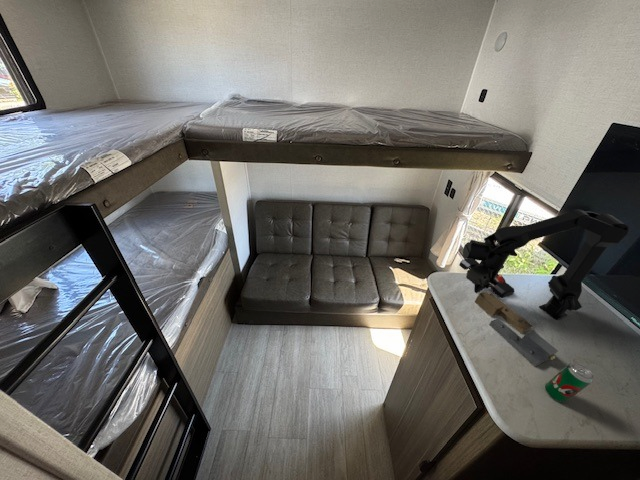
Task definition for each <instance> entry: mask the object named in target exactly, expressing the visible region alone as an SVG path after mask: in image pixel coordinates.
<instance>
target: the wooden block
mask: <svg viewBox="0 0 640 480" xmlns="http://www.w3.org/2000/svg"><path fill="white" fill-rule="evenodd" d="M474 303H476V305H477V306H479V307H480V308H481V309H482V310H483V311H484V312H485V313H487V315H489V316H490V317H492V318H493V317H496V316H498V315H499V316H500V317H501V318H502V319H503V320H504V321H506V322H507V323H508V324H510V325H511V326H512V327H513V328H514V329H515V330H516V331H517V332H519V333H520V334H523V333H525V332H526V333H527V331H530V330H531V329H532V328H533V325H532V324H531V323H530V322H528V321H527V320H526V319H525V318H523V316H521V315H520V314H518V313H517V312H516V311H515V310H514V309H512V308H511V307H509V305H507V304H506V303H505V302H503V301H502V300H501V298H500V299H499V297H498V296H497V295H496V294H494V293H493V292H491V293H489V292H487V291H484V292H479V293H478V295H477V297H476V298H475V300H474Z"/></svg>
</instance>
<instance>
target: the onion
mask: <svg viewBox="0 0 640 480" xmlns="http://www.w3.org/2000/svg"><path fill="white" fill-rule="evenodd" d="M498 275H499V276H498V277H496V279H497V280H499V281H498V282H499V283H503V282H506V283H507V281H506V279H505V278H504V277H503V275H502V274H501V273H500V274H499V273H498ZM493 287H494V286H493ZM493 287H490V288H489V289H491V290H492V288H493Z"/></svg>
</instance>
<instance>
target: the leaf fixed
mask: <svg viewBox="0 0 640 480" xmlns="http://www.w3.org/2000/svg"><path fill="white" fill-rule="evenodd" d="M488 325H489V326H490V327H491V328H492V329H493V330H494V331H495V332H497V334H498V335H499V336H501V337H502V338H503V339H504V340H505V341H506V342H507V343H508V344H509V345H510V346H511V347H512V348H513V349H515V350H516V351H517V352H518V353H519V354H521V356H522V357H524V359H525V360H527V362H529V363H530V364H531V365H532V366H533V367H537V366H539V365H541V364H543V363H546V362H547V361H549V360H551V361H553V360H554V359H556V356H555V355H556V354H557V353H558V352H559V350H558V349H556V348H555V347H554V346H553V345H551V343H549V342H548V341H547V340H546V339H544V338H543V337H542V336H540V335H539V333H537V332H535V331H534V330H532V331H529V332H526V333H525V335H523V336H522V337H520V336H519V335H518V334H517V333H516V332H515V331H514V330H513V329H511V327H509V326H508V325H507V324H506V323H504V321H503V320H501V319H500V318H496V319H493V320H491V321H490V322H489V324H488Z"/></svg>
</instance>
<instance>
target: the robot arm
mask: <svg viewBox="0 0 640 480" xmlns="http://www.w3.org/2000/svg"><path fill="white" fill-rule="evenodd" d="M577 228H581V229H583V230H585V240H584V242H583V243H582V244H581V247H580V248H579V250H578V251H577V253H576V254H575V256H574V257H573V259H572V261H571V262H570V263H569V265H568V267H567V268H566V269H565V271H564V273H562V274H560V275H552V277H551V279H550V280H549V281H547V284H548V287H549V292H550V293H551V295H552V296H551V297H550V298H549V300H547V302H546V303H544V304H542V305H539V307H538V308H539V309H540V310H542V311H543V312H544V313H546V314H547V315H549V316H550V317H551V318H552V319H554V320H556V321H558V320H561V319H563V318H566V317H567V316H568V314H567V312H568V311H570V312H572V311H578V310H580V309H581V308H583V306H582V304H581V303H580V301H579V299H580V296H581V295H582V292H583V288H582V287H583V285H582V284H583V281H584V279H585V278H586V277H587V275H588V274H589V273H590V272H591V270H592V269H593V267H594V265H596V263H597V261H598V260H599V259H600V258H601V256H603V253H604V252H605V251H606V249H607V248H609V247H611V246H615V245H617V244H619V243H620V242H621V241H622V240H623V239H624V238H625V237H626V236H627V235H628V234H629V232H630V228H629V226H628V225H627V224H625V223H624V222H623V221H621V220H620V219H618V218H616V217H615V216H613V215H612V214H609V213H600V214H599V213H597V212H593V211H584V210H583V209H578V208H577V209H576V208H575V209H571V210H570V211H569V212H566V213H563V214H560V215H559V214H558V215H556V216H553V217H549V218H546V219H544V220H540V221H537V222H533V223H530V224H526V225H525V224H524V225H509V226H505V227H501V228H498V229H497V230H496V231H495V232H493V233H492V234H490V235H488V236H486V237H484V238H483V240H484V241H479V240H478V241H477V240H474V239H470V240H469V242H466V244H464V246H463V250H462V256H463V258H464V259H462V260H460V262H459V264H458V266H459V267H460V268H462V269H463V270H464V271H465V270H466V277H465V278H466V279H467V280H469V281H470V282H471V283H472V284H473V285H474V286H473V287H474V293H475V294H479V293H481V291H483V290H485V289H491V288H490V287H493V286H494V287H493V288H492V289H491V291H492V294H493V295H495V296H496V297H497V298H498V299H499V298H500V299H505V298H507V297H510V296H512V295H513V294H514V293H515V288H514V287H513V286H512V285H510V284H509V283H507V281H506V282H503V283H499V282H498V281H499V280H497V279H496V277H498V276H499V273H500V271H501V270H503V269H504V267H505V265H504V264H505V263H506V262H507V259H508V258H509V257H510V256H513V257H517V256H518V254H517V252H516V250H517V249H518V250H519V249H520V248H523V247H524V246H526V245H527V244H528V243H530V242H531V241H533V240H537V239H540V238H544V237H547V236H552V235H555V234H558V233H563V232H566V231H569V230H570V231H571V230H573V229H577ZM495 241H496V242H497V244H498V245H497V244H496V243H495ZM478 261H480V262H478ZM469 268H470V269H469Z"/></svg>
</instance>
